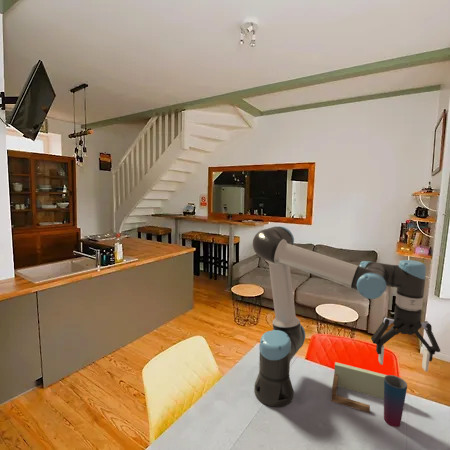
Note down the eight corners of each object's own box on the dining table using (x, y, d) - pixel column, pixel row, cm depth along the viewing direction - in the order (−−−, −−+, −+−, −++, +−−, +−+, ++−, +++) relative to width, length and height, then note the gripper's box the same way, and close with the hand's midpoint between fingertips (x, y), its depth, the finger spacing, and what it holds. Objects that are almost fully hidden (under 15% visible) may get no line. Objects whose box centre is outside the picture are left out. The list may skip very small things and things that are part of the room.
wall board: (333, 384, 116) (334, 364, 115) (334, 382, 118) (335, 362, 117) (401, 404, 106) (403, 382, 105) (400, 401, 108) (403, 379, 106)
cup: (407, 431, 94) (411, 389, 92) (384, 427, 96) (388, 386, 94) (398, 415, 101) (402, 376, 99) (378, 412, 102) (381, 373, 100)
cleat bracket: (331, 401, 107) (331, 389, 107) (333, 384, 116) (334, 373, 116) (369, 413, 102) (370, 400, 101) (368, 395, 111) (369, 383, 110)
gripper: (370, 306, 94) (365, 366, 96) (458, 316, 88) (450, 379, 90) (365, 298, 101) (360, 353, 104) (445, 306, 95) (438, 365, 97)
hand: (402, 365), depth 97 cm, fingers open, 13 cm apart
